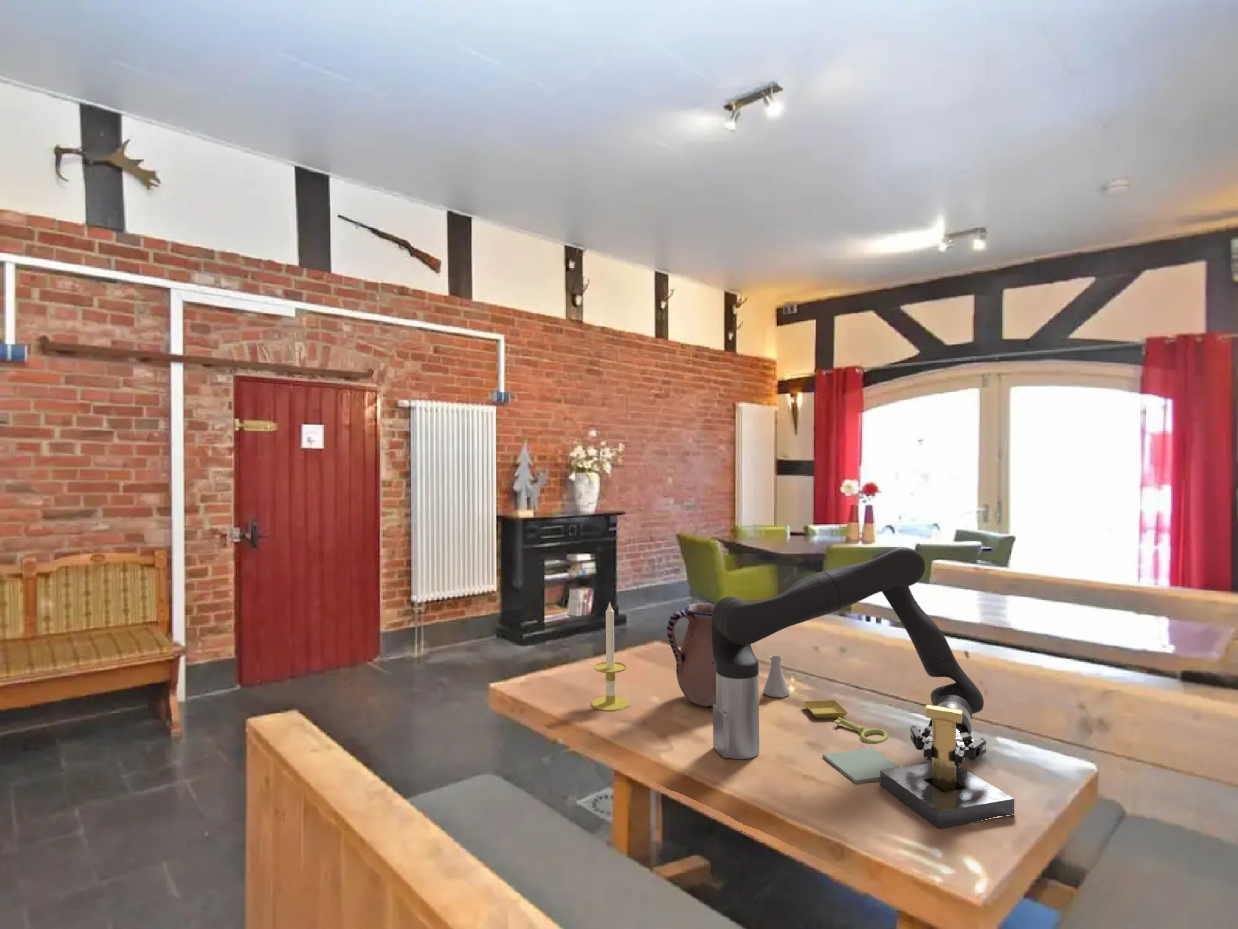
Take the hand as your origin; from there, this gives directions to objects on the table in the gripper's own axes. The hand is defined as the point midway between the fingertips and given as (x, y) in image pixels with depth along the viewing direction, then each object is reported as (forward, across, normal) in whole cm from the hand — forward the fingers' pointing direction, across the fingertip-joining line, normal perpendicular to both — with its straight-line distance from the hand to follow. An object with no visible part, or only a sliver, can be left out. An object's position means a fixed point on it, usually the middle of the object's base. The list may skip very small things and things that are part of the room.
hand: (942, 757), depth 124 cm
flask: (-43, -45, +9) cm, 63 cm away
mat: (-10, -16, +9) cm, 21 cm away
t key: (-3, 0, +9) cm, 9 cm away
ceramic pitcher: (-28, -59, +9) cm, 65 cm away
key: (-27, -19, +10) cm, 35 cm away
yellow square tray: (-35, -30, +10) cm, 47 cm away
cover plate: (-3, 0, +9) cm, 9 cm away
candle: (-15, -80, +9) cm, 82 cm away
